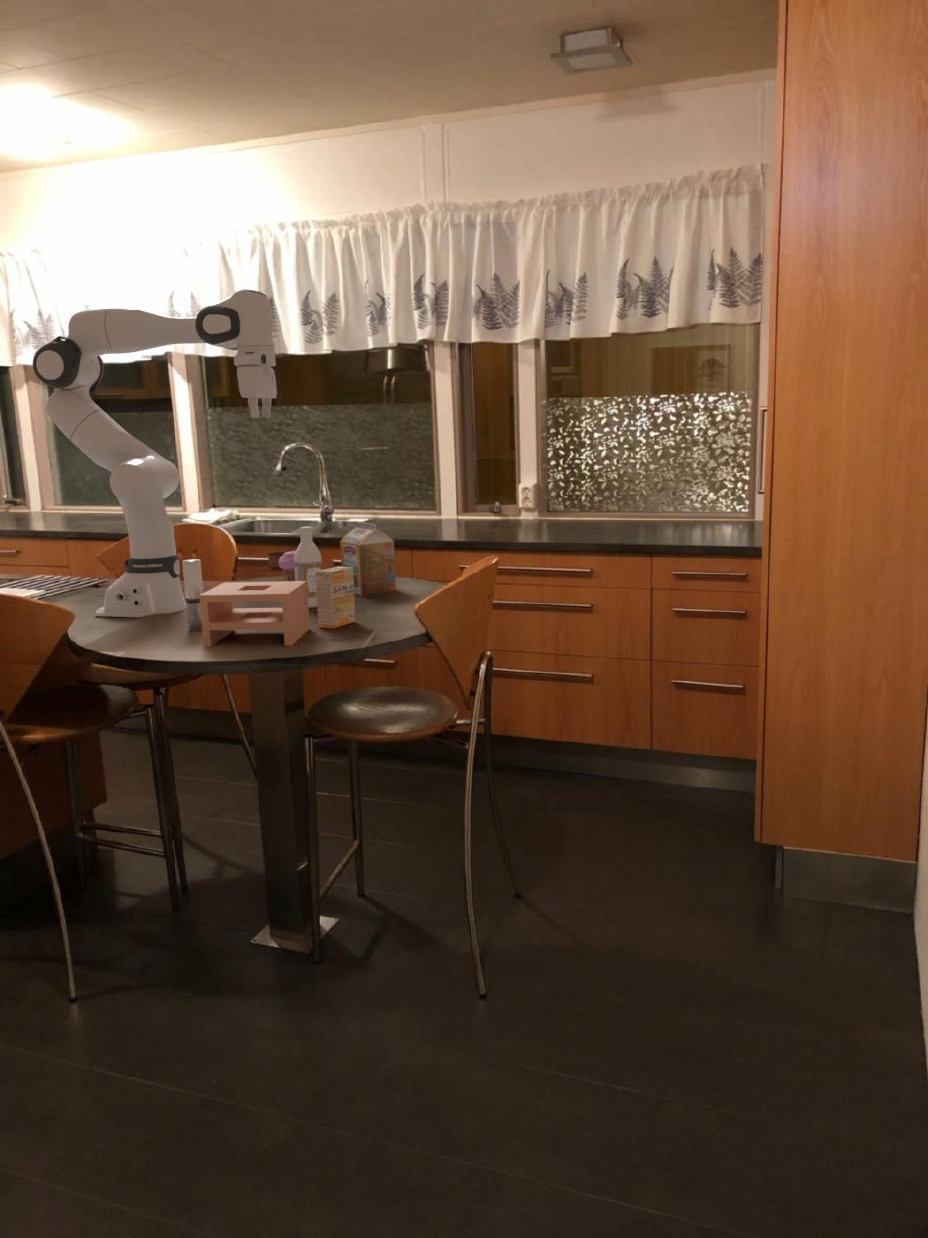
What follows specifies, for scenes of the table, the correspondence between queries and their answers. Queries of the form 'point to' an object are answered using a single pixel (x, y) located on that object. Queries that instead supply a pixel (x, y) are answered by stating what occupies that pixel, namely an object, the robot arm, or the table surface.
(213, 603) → the collar frame
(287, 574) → the cupcake
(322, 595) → the supplement box
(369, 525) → the milk carton
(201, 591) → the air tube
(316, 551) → the bath foam
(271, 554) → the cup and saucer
